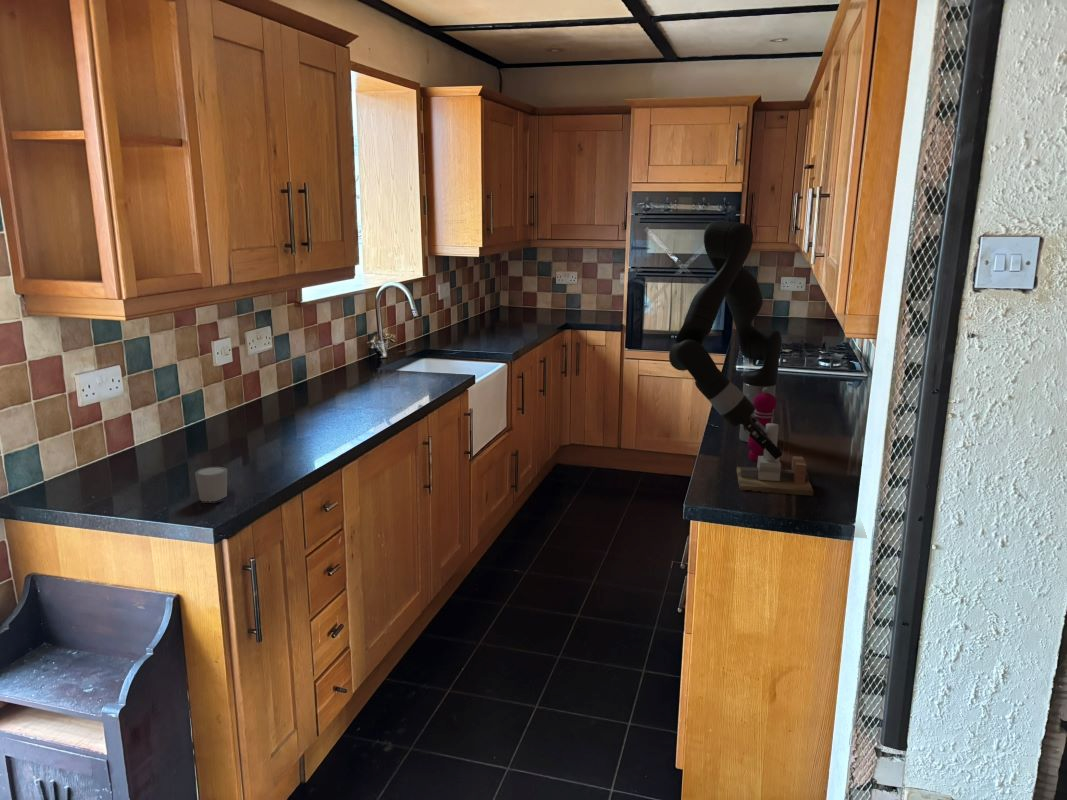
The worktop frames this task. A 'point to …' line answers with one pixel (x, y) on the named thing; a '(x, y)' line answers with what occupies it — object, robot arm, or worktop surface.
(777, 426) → the white handled block
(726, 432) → the worktop surface
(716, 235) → the robot arm
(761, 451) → the pepper mill
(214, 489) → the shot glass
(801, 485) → the track
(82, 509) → the worktop surface
